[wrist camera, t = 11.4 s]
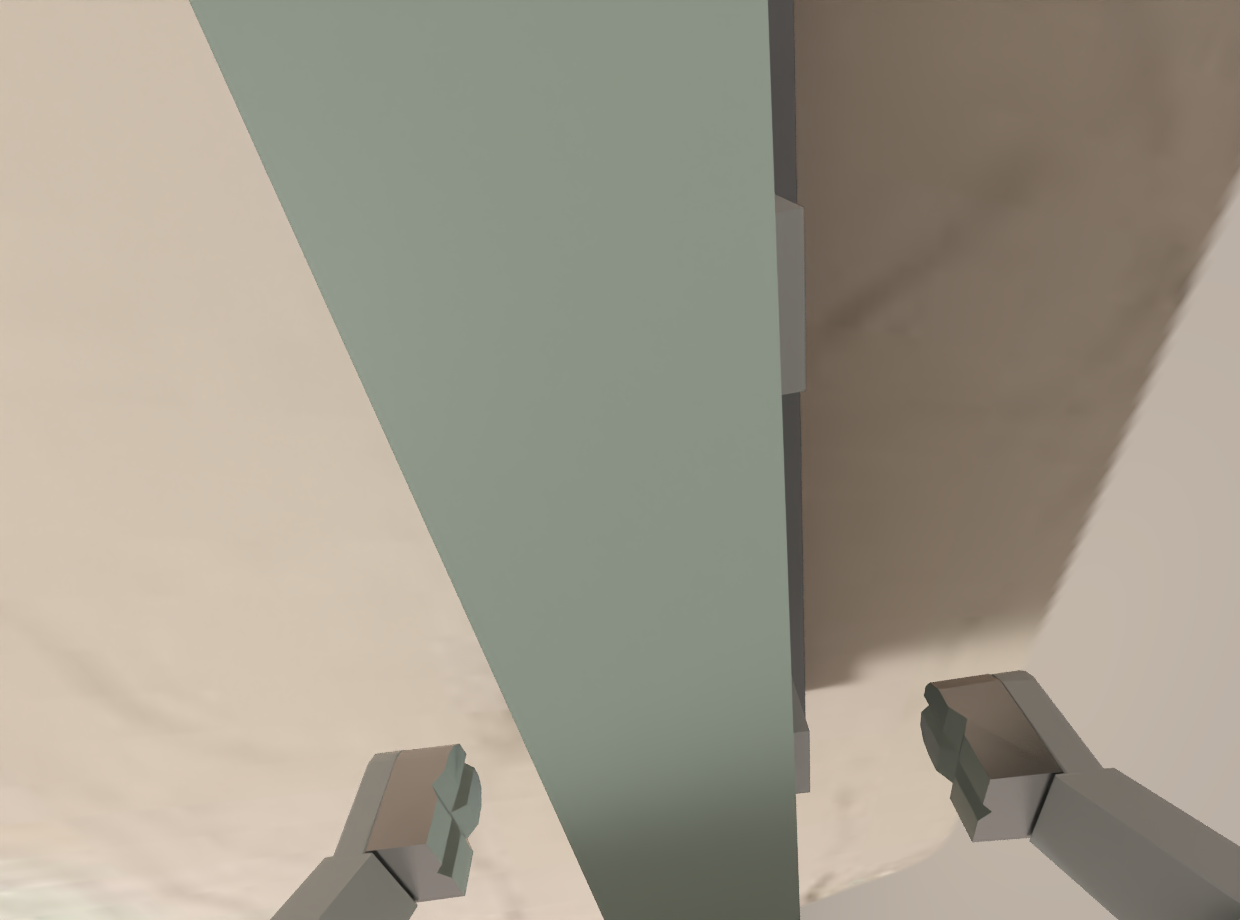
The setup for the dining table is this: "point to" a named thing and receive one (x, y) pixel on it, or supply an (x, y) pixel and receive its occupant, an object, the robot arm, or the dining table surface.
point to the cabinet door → (571, 384)
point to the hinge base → (790, 346)
